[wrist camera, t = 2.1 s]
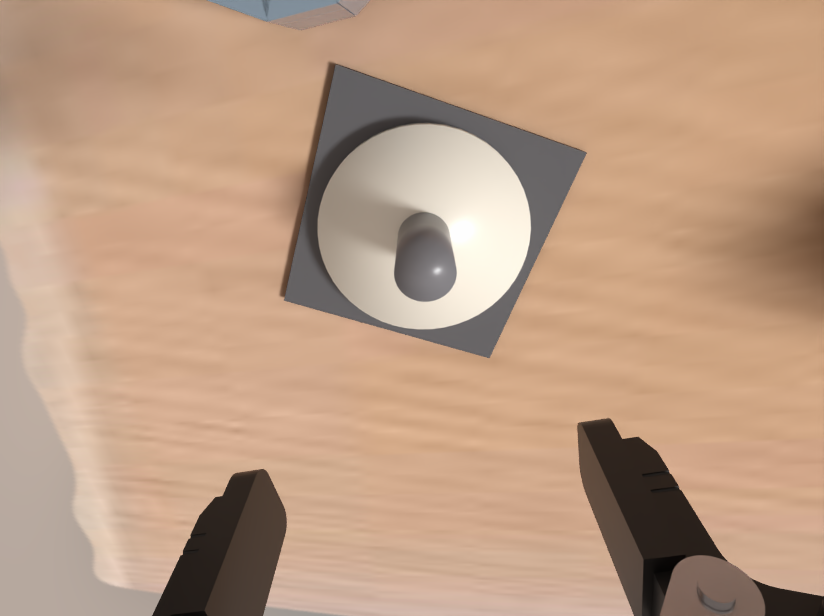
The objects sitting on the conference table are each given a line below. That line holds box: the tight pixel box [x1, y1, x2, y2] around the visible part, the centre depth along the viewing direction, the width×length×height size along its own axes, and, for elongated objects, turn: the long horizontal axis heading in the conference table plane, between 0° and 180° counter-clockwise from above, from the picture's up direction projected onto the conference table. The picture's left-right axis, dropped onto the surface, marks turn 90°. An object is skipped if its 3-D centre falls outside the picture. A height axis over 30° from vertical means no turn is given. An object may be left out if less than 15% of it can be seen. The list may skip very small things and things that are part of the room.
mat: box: [284, 64, 586, 358], centre depth 30 cm, size 15×15×1 cm
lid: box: [318, 123, 531, 329], centre depth 27 cm, size 13×13×6 cm
